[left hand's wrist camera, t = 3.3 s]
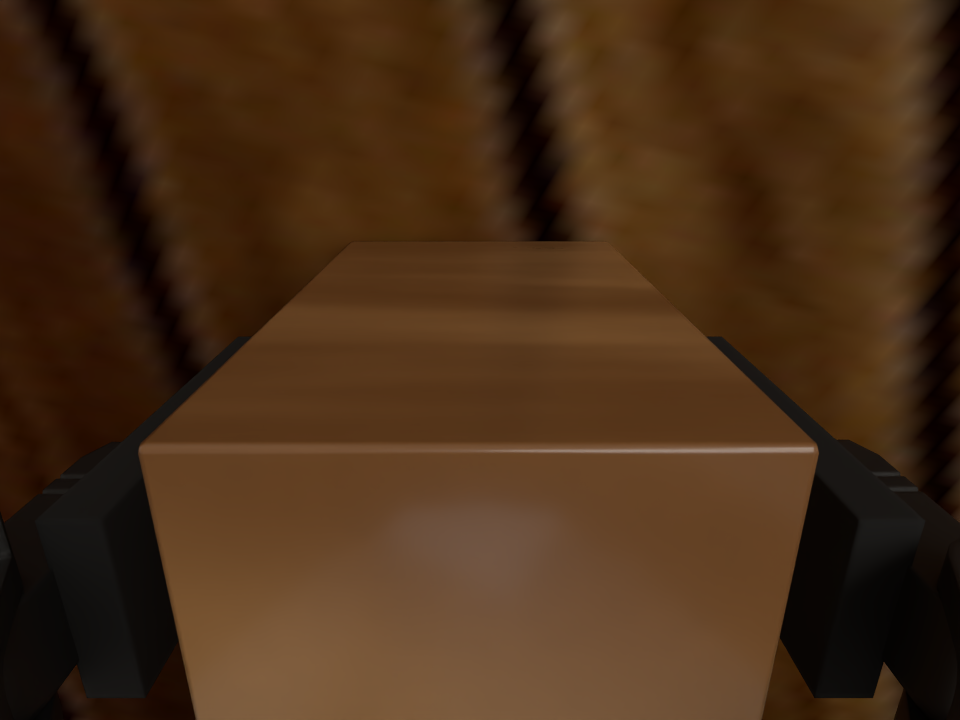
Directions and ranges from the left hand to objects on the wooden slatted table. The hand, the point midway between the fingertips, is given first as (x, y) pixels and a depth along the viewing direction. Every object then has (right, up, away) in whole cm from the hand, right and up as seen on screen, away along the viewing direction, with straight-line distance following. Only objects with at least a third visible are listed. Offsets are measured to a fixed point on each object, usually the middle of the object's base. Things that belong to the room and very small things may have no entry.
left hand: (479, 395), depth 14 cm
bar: (0, -10, +5) cm, 11 cm away
